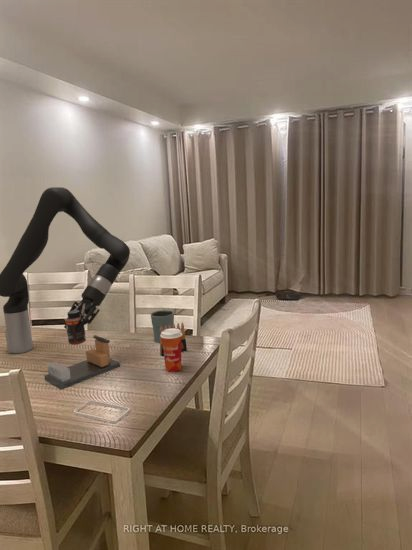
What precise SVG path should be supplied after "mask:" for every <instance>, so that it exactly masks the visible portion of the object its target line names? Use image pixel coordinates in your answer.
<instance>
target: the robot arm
mask: <svg viewBox="0 0 412 550" xmlns="http://www.w3.org/2000/svg"><path fill="white" fill-rule="evenodd" d="M63 212H64V213H65V214H67V215H68V216H69V217H71V218H72V219H73V220H74V221H75V222H76V223H77V225H78V226H79V228H80V229H81V232H82V234H84V236H86V238H87V239H88V240H89V241H91V242H92V243H93V244H94V245H95V246H97V247H98V248H99V249H104V250H105V251H106V252H107V253H108V254H110V255H109V256H108V258H107V259H106V261H105V262H104V263H103V264H102V265H101V266H100V268H98V270H97V272H96V273H95V274H94V276H93V277H92V278H91V279H90V280H89V282H88V284H87V286H86V287H85V289H84V290H83V292H82V293H81V295H80V297H81V298H82V300H80V301H79V302H77V301H74V302H73V304H72V306H71V307H70V309H69V311H73V310H79V312H80V316H81V319H80V321H79V322H78V324H77V325H76V327H75V328H74V332H76V333H80V331H81V330H82V328H83V327H84V328H85V326H86V325H87V324H88V325H90V324H91V323H92V322H93V321H94V320H95V318H96V317H97V315H98V314H99V312H100V311H101V310H100V309H99V308H98V307H100V306H101V304H102V303H103V301H104V300H105V298H106V296H107V295H108V293H109V291H110V289H111V287H112V286H113V284H114V282H115V281H116V279H117V277H118V276H119V274H120V273H121V271H122V270H123V269H124V268H125V267H126V265H127V263H128V262H129V259H130V255H131V250H130V247H129V246H128V245H127V243H125V241H123V240H122V239H120V238H119V237H117V236H115V235H113V234H112V233H111V232H110V231H109V230H108V229H106V228H105V227H104V226H103V225H102V224H101V223H100V222H99V221H97V220H96V218H94V217H93V216H92V215H91V214H90V213H89V212H88V211H87V209H86V208H85V207H84V206H83V205H82V204H81V203H80V202H79V200H78V199H77V198H76V197H75V196H74V194H73V193H72V192H71V191H70V190H69V189H67V188H66V187H58V186H57V187H56V186H55V187H49V188H46V189H44V191H43V192H42V194H41V196H40V197H39V201H38V203H37V205H36V208H35V211H34V214H32V215H33V216H32V217H31V220H30V221H29V223H28V224H27V227H26V228H25V231H24V232H23V234H22V236H21V238H20V239H19V242H18V243H17V246H16V247H15V249H14V251H13V252H12V255H11V256H10V259H9V260H8V262H7V264H6V265H5V267H3V269H2V270H1V272H0V297H3V298H8V300H7V301H6V303H4V305H3V307H2V309H3V316H4V324H5V331H4V334H5V341H6V342H5V343H6V348H7V353H8V354H22V353H27V352H29V351H32V350H33V349H34V343H33V337H32V335H33V334H32V328H31V322H30V321H31V320H30V315H29V314H30V313H29V301H30V297H29V285H28V280H27V278H26V276H25V275H24V272H25V271H26V270H27V269H28V268H30V266H32V265H33V264H34V263H35V261H37V260H38V258H39V257H41V255H42V254H43V251H44V250H45V248H46V246H47V244H48V241H49V235H50V234H49V230H50V226H51V224H52V222H53V220H54V218H55V217H56V215H58V213H63ZM63 328H64V329H66V330H67V328H66V323H65V325H64V326H63Z"/></svg>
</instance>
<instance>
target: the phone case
mask: <svg viewBox="0 0 412 550" xmlns="http://www.w3.org/2000/svg"><path fill="white" fill-rule="evenodd" d="M89 404H94V405H99V406H104V407H108V406H109V407H108V408H113V407H114V408H113V409H117V408H120V409H119V410H122V409H123V411H124V412H123V413H122V414H121V415H120V416H119V417H117V418H116V419H110V418H107V417H106V418H105V417H101V416H98V415H93V414H88V413H83V412H79V411H78V410H80V409H81V408H83V407H84V406H86V405H89ZM130 413H131V409H130V408H129V407H127V406H121V405H117V404H114V403H113V404H111V403H107V402H102V401H96V400H93V399H91V400H88V401H86V402H85V403H84V404H82V405H80V406H78V408H76V409H75V410H73V414H74V416H79V417H84V418H88V419H93V420H97V421H98V420H103V421H108V422H109V424H114V423H115V424H117V423H119V422H120V421H121V420H122V419H123V418H124V417H126V416H125V415H126V414H127V415H128V414H130ZM120 419H121V420H120ZM119 420H120V421H119ZM118 421H119V422H118Z"/></svg>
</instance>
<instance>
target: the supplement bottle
mask: <svg viewBox="0 0 412 550" xmlns="http://www.w3.org/2000/svg"><path fill="white" fill-rule="evenodd" d="M80 319H81V316H80V312H79V310H73V311H70V310H69V311H68V312H67V318H66V319H65V324H66V328H67V329H66V333H67V339H68V344H70V345H74V346H76V345H80V344H83V343H85V342H86V341H87V337H86V330H85V326H84V327H83V328H82V330H81V331H80V333H76V332H74V328H75V327H76V325H77V324H78V322H79V321H80Z"/></svg>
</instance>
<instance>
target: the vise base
mask: <svg viewBox="0 0 412 550" xmlns="http://www.w3.org/2000/svg"><path fill="white" fill-rule="evenodd" d="M46 364H47V363H46ZM120 364H121V363H120V361H119V360H118V361H117V360H115V359H112V358H110V362H109V365H106V366H103V367H100V366H98V365H96V364H93V363H91V362H89V361H87V359H86V360H84V361H81V362H78V363H76V364H73V365H70V366H65V365H63V364H60V363H59V362H57V361H53V362H50V363H48V364H47V365H46V366H47V374H45V375H44V380H45V381H47V382H48V383H50V384H51V385H54V386H55V387H56V388H59V389H60V390H64V389H65V388H68V387H72V386H73V385H76V384H78V383H81V382H84V381H86V380H89V379H92V378H94V377H96V376H100V375H101V374H103V373H106V372H108V371H112V370H114V369H117V368H119V367H121V365H120Z"/></svg>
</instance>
